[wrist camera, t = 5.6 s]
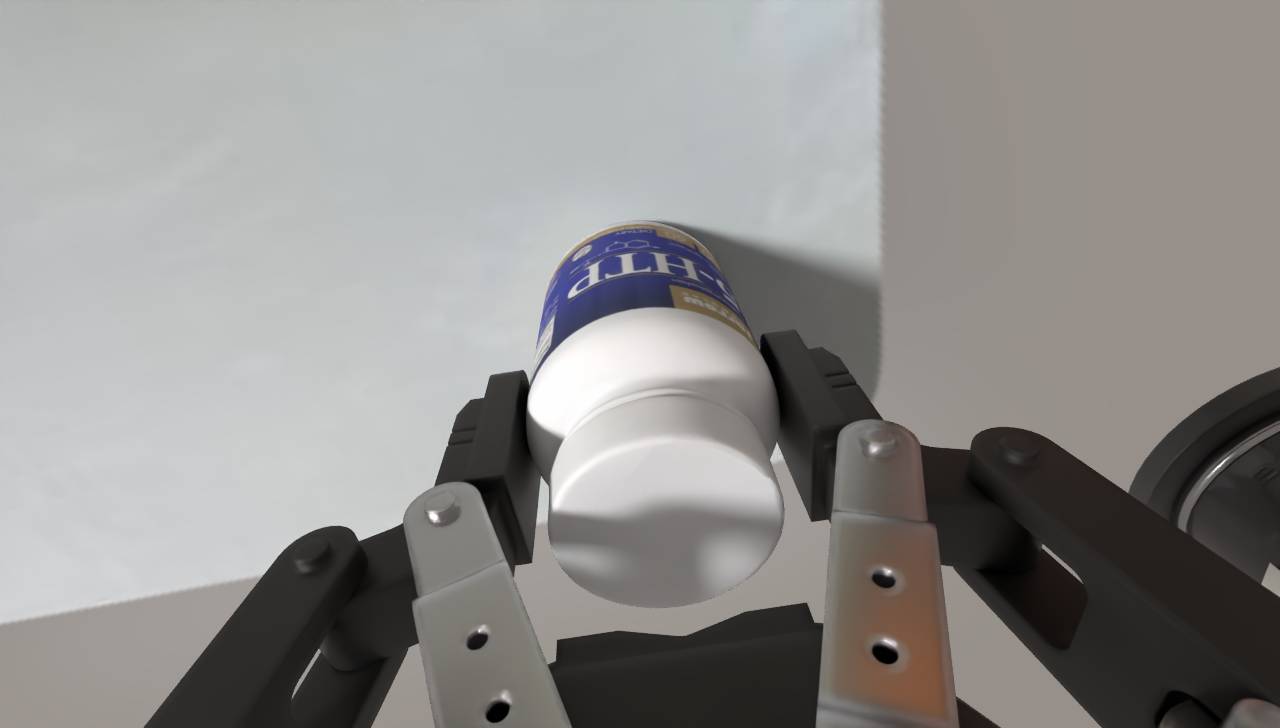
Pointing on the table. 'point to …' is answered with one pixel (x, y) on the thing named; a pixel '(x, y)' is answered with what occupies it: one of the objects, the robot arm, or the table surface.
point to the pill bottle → (652, 421)
